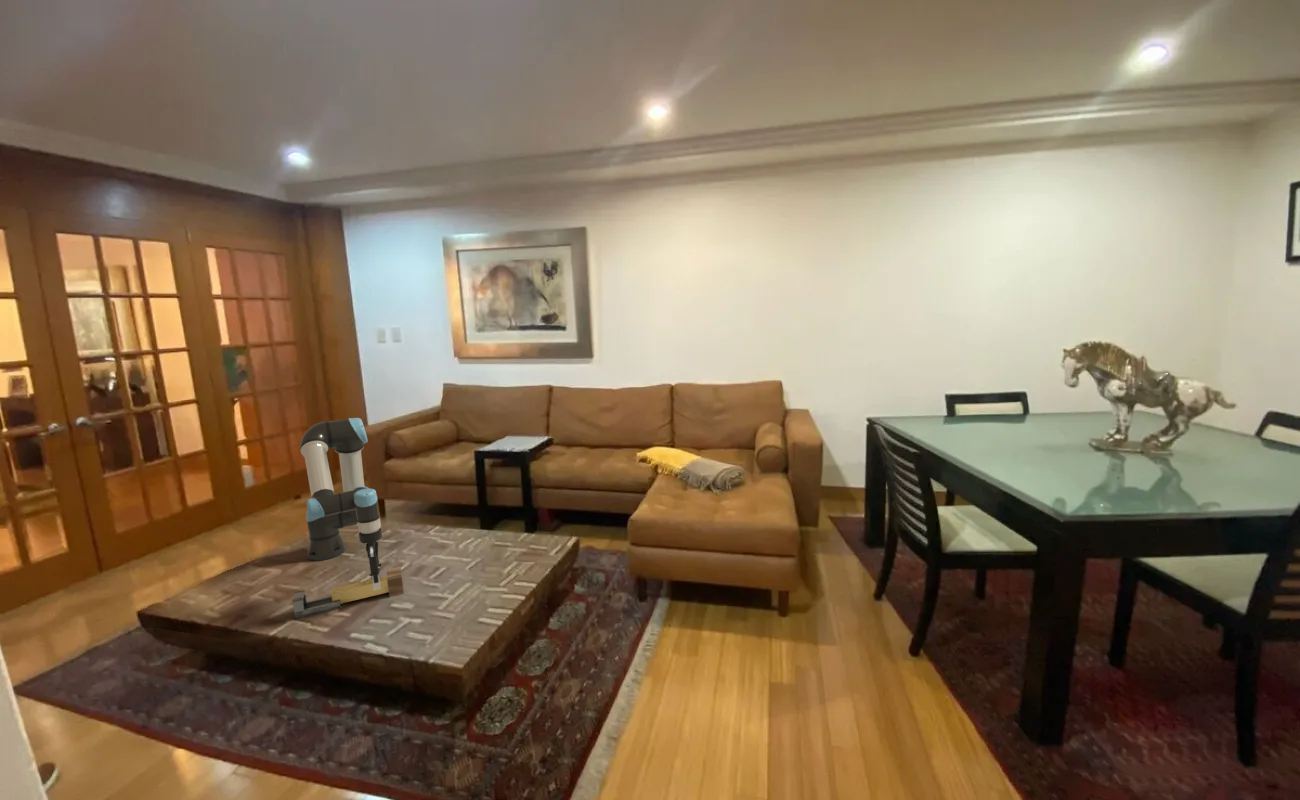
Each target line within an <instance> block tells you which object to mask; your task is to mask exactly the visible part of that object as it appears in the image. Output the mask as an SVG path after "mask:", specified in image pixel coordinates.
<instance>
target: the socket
mask: <svg viewBox="0 0 1300 800" xmlns="http://www.w3.org/2000/svg"><path fill="white" fill-rule="evenodd" d="M386 576H387V582H388V589H389V592H388V597H389V598H391V597H395V596H399V595H404V594H405V592H404V591H405V590H404V579H403V572H402V566H401V565H400V566H396V567H392V568H388V569H386Z"/></svg>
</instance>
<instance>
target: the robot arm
mask: <svg viewBox="0 0 1300 800" xmlns="http://www.w3.org/2000/svg"><path fill="white" fill-rule="evenodd" d="M367 435H368V434H367V433H366V428H365V426H364V423H363V420H362V418H360V417H352V418H351V417H348V418H344V419H342V418H341V419H337V420H331V421H330V420H329V421H321V422H317V423H315V424H313V425H312V426H310V427H309V428H308V429H307V430H306V431H305V433H304V434H303V435H302V438H301V439H300V444H299V448H300V449H299V450H300V451H299V452H300V453H301V455H302V457H303V458H304V461H305V467H306V474H307V478H308V484H309V491H310V496H311V497H310V498H309V499H307V500H306V501H305V502H306V508H307V510H306V511H305V518H306V519H305V521H306V524H307V531H308V537H309V542H308V543H309V544H308V547H307V553H306V555H307V559H308V560H310V561H325V560H329V559H333V558H335V557H336V558H337V557H338V556H340V555H342V554H344V553H345V552H346V550H347V545H346V542H345V541H344V539H343V538H342V536H341V533H340V529H344V528H348V527H351V526H355V527H357V528H358V532H359V533H358V538H359V542H360V543H361V544H365V551H366V552H367V553H366V554H367V558H368V561H369V562H368V563H369V569H370V573H369V574H368V576H369V577H371V576H372V578H371V579H372V583H373V591H375V590H379V589H381V581H380V573H379V570H378V568H380V567H382V563H380V560H379V542H378V541H379V540H381V539H383V538H382V537H383V533H382V528H381V527H382V524H381V517H380V513H379V512H380V511H379V503H378V499H379V498H378V494H377V491H376V489H374V488H369V487H368V486H365V479H364V470H363V469H364V467H363V458H362V450H364V448H365V444H367V443H368V441H369V440H368V436H367ZM329 449H333V450H334V452H335V453H337V454H338V458H339V467H340V474H341V475H340V476H341V481H342V482H341V483H342V490H343V491H342V492H338V493H335V489H334V485H333V480H332V475H331V470H330V464H329V461H328V460H329V459H328V455H327V452H328V451H329ZM380 569H381V568H380Z"/></svg>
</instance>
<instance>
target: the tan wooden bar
mask: <svg viewBox="0 0 1300 800" xmlns="http://www.w3.org/2000/svg"><path fill="white" fill-rule="evenodd" d="M378 570H379V573H380V581H381V589H379V590H375V591H373V583H372V576H370V577H371V579H366V580H363V581H359V582H354V583H350V584H346V585H345V584H344V585H340V586H336V587H332V588H331V592H330V593H331V596H332V601H333V602H337V601H340V604H341V605H342V604H344V603H349V602H352V601H357V600H362V599H366V598H369V597H374V596H378V595H382V594H383V595H384V594H386V593H389V589H388V582H387V575H385V576H382V574H381V573H382V572H381V568H378Z"/></svg>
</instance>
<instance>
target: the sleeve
mask: <svg viewBox="0 0 1300 800" xmlns="http://www.w3.org/2000/svg"><path fill="white" fill-rule="evenodd" d="M291 602H292V606H293V612H294V618H295V620H298V619H301V618H307V617H311V616H314V615H319V614H323V613H328V612H332V611H335V610H340V609H341V606H342V603H341V604H340V601H337V602H333V601H332V595H331V596H325V597H321V598H317V599H313V600H307V596H306V590H305V589H304V590H297V591H294V595H293V598H292V601H291Z"/></svg>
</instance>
